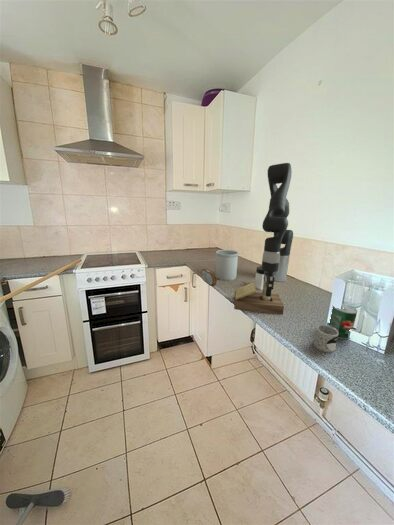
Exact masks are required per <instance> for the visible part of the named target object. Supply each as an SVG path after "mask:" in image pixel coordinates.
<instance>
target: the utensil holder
mask: <svg viewBox="0 0 394 525" xmlns="http://www.w3.org/2000/svg"><path fill="white" fill-rule="evenodd" d="M239 255H240V254H239V251H237V250H233V249H219V250H216V251H215V275H216V279H217V280H220V281H227V282H228V281H234V280H236V279H237V274H238V261H239V258H238V257H239Z"/></svg>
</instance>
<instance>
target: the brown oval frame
mask: <svg viewBox="0 0 394 525" xmlns="http://www.w3.org/2000/svg"><path fill="white" fill-rule="evenodd" d="M201 278H202V280H203V282H204V283H205V284H207V285H208V286H211V287H213V286H216V285H217V282H218V281H217V280H218V279H217V278H216V273H215V272H213V270H210V269H209V268H203V269H202V270H201Z"/></svg>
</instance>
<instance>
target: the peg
mask: <svg viewBox="0 0 394 525" xmlns="http://www.w3.org/2000/svg"><path fill="white" fill-rule="evenodd" d="M269 287H271V285H270V284H269ZM261 293H262V300H263V301H270V297H271V296H270V297H268V296H266V284H265V282H264V283H263V290H261Z"/></svg>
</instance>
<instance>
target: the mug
mask: <svg viewBox="0 0 394 525" xmlns="http://www.w3.org/2000/svg"><path fill="white" fill-rule="evenodd" d="M338 334H339V333H338V331H337V330H336V328H332V327H330V326H329V325H325V324H319V325H317V326H316V328H315V334H314V338H313V346H314V347H315V348H316V349H318V351H321V352H324V353H329V354H330V353H334V352H335V351H336V346H337V342H338V339H339V338H338Z"/></svg>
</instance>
